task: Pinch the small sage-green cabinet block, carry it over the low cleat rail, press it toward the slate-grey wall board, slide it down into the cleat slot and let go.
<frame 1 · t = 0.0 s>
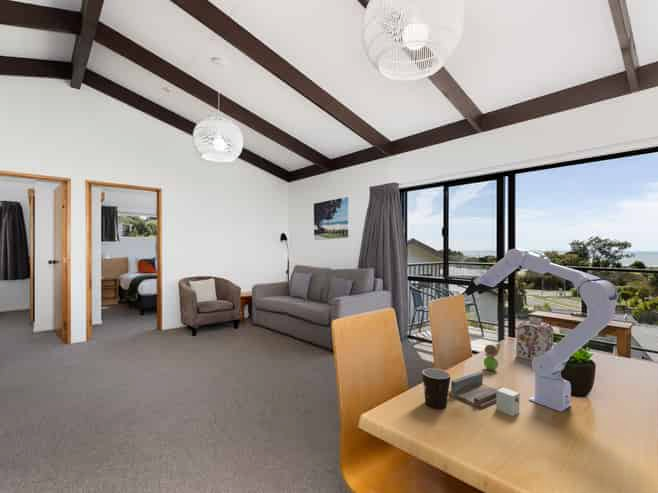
hand: (472, 292, 134), 32 cm above the table, tool tilted 50°, fingers open, 7 cm apart
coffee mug: (434, 407, 108), on the table
cabinet block: (507, 411, 105), on the table
cleat board: (478, 395, 116), on the table
decorative jar: (534, 358, 156), on the table
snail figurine: (492, 370, 140), on the table
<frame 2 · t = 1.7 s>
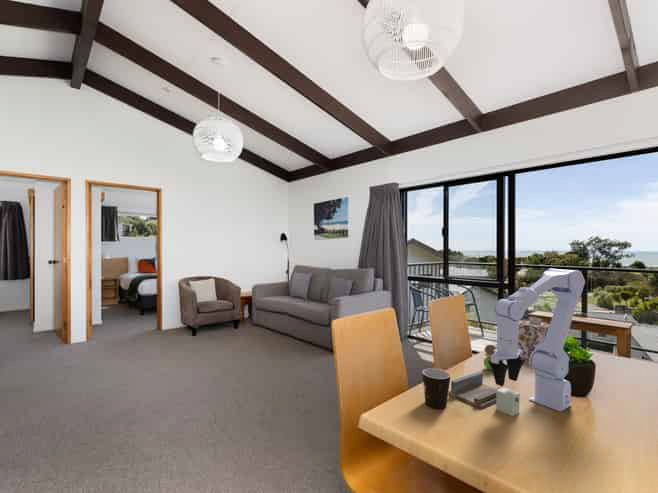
hand: (506, 382, 106), 9 cm above the table, tool pointing down, fingers open, 7 cm apart
nothing on the table moved.
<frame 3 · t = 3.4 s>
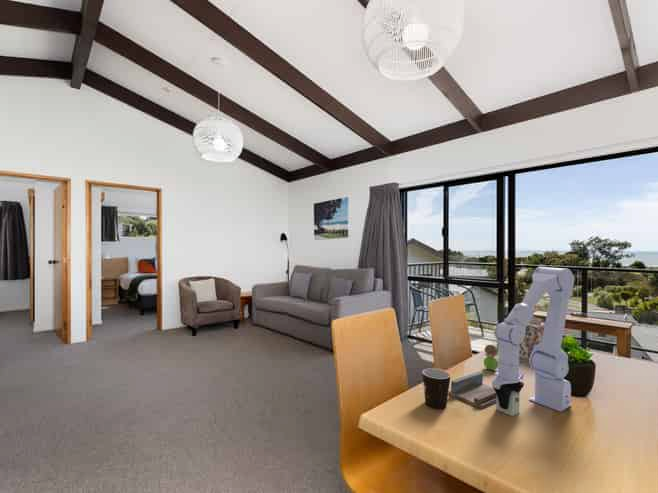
hand: (507, 406, 105), 1 cm above the table, tool pointing down, fingers closed on cabinet block, 4 cm apart
cabinet block: (507, 410, 105), on the table, touching gripper
everything else where it was.
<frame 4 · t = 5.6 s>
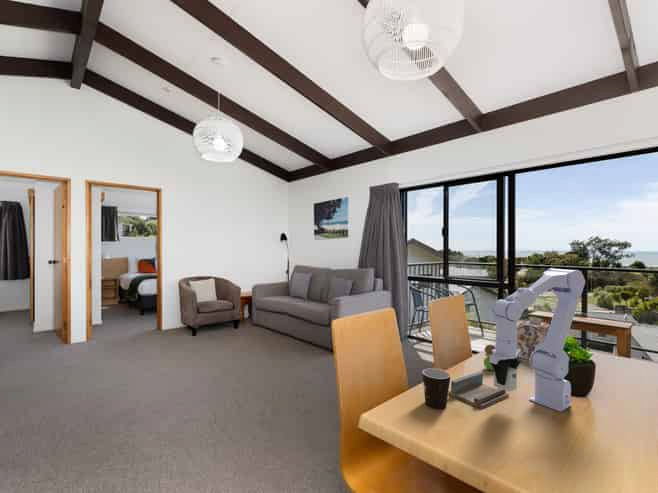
hand: (505, 382, 106), 8 cm above the table, tool pointing down, fingers closed on cabinet block, 4 cm apart
cabinet block: (504, 387, 106), point 7 cm above the table, touching gripper
everything else where it was.
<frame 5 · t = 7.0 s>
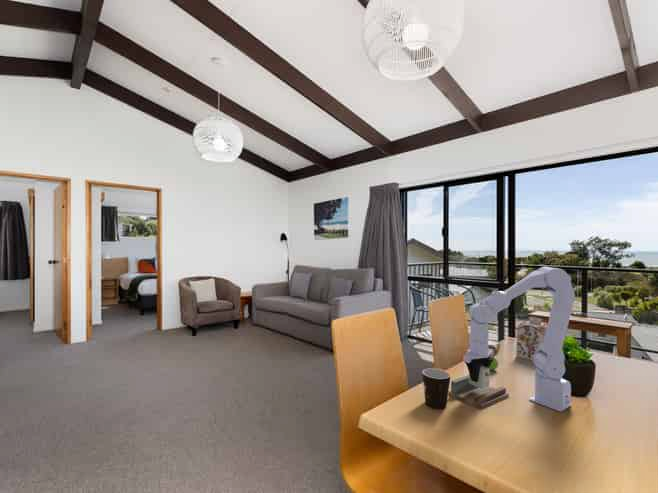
hand: (478, 379, 116), 5 cm above the table, tool pointing down, fingers closed on cabinet block, 4 cm apart
cabinet block: (478, 384, 116), point 4 cm above the table, touching gripper
everything else where it was.
when the fingers open (4 cm above the table, at t = 8.0 s): cabinet block drops 2 cm, resting on cleat board.
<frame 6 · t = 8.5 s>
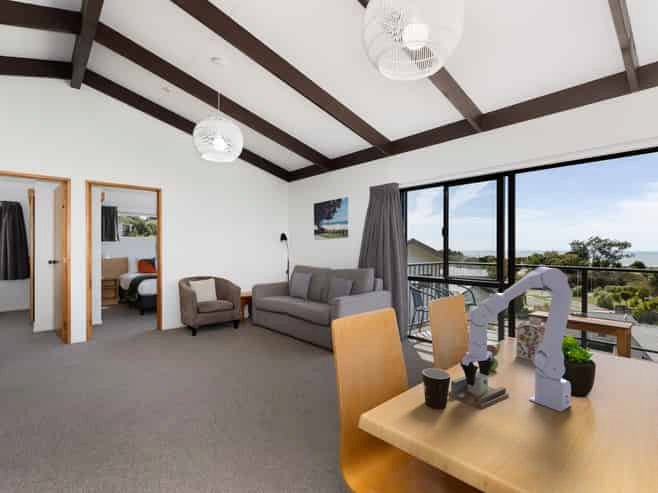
hand: (477, 382, 116), 4 cm above the table, tool pointing down, fingers open, 7 cm apart
cabinet block: (477, 392, 116), point 1 cm above the table, touching cleat board
everything else where it was.
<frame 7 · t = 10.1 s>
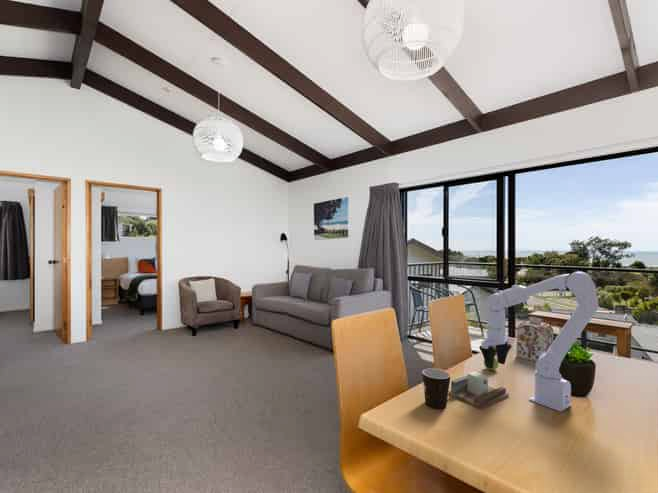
hand: (495, 365, 121), 8 cm above the table, tool pointing down, fingers open, 7 cm apart
nothing on the table moved.
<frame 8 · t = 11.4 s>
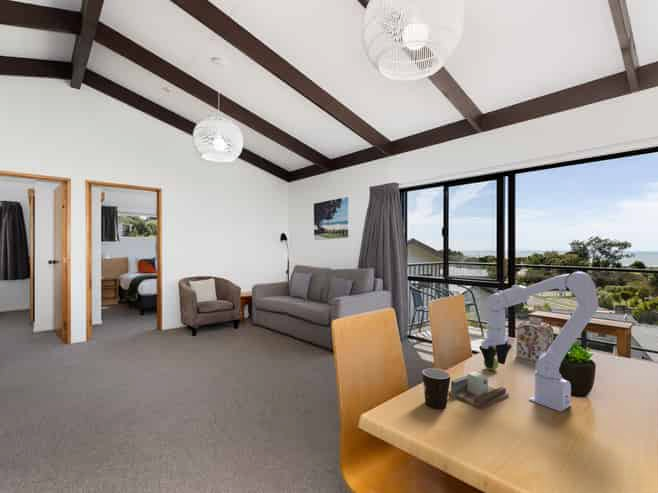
hand: (495, 365, 121), 8 cm above the table, tool pointing down, fingers open, 7 cm apart
nothing on the table moved.
at the end: cabinet block inside the target area on the cleat board (0.4 cm from its centre), point 1.0 cm above the cleat board's base; cabinet block tilted 0°; the gripper is holding nothing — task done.
